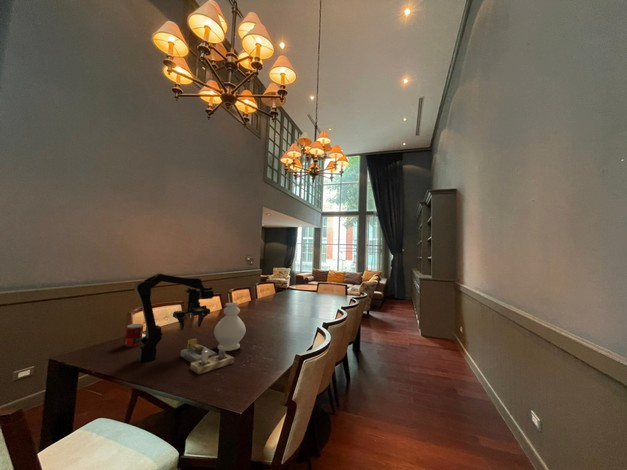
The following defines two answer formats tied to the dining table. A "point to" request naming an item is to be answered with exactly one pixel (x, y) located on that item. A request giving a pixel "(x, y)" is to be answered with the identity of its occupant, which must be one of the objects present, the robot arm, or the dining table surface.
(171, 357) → the dining table surface
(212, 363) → the rack
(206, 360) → the grey rounded cylinder
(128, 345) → the canned food
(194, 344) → the key
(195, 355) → the socket
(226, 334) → the decorative vase
